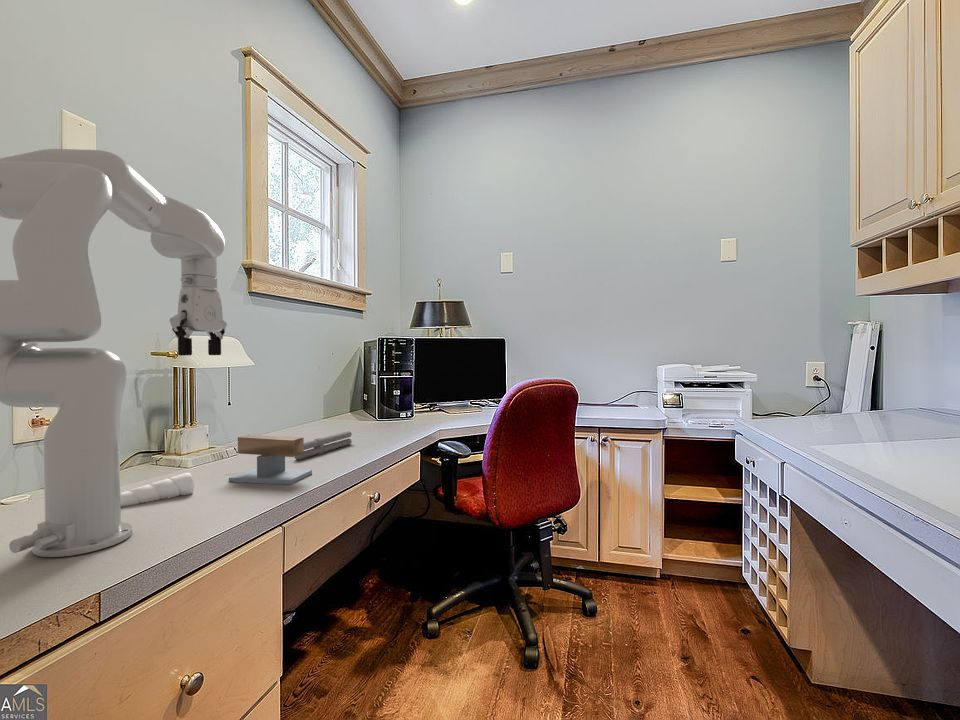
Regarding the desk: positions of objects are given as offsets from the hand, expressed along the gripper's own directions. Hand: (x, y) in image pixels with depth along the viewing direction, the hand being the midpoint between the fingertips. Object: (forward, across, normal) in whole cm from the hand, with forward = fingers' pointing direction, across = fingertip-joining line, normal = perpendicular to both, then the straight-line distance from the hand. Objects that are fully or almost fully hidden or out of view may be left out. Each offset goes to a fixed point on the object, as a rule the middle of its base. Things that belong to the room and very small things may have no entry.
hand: (200, 355), depth 117 cm
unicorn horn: (+31, -19, 0) cm, 36 cm away
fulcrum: (+30, +4, -16) cm, 34 cm away
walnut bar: (+24, +4, -16) cm, 29 cm away
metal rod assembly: (+31, +35, -14) cm, 49 cm away
